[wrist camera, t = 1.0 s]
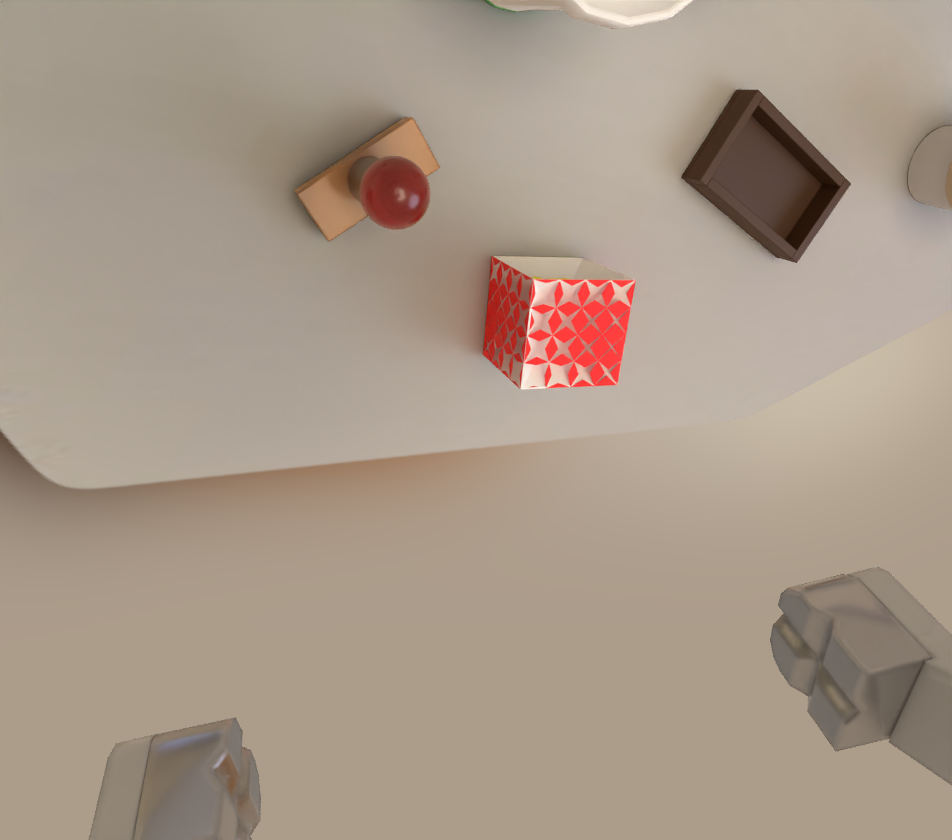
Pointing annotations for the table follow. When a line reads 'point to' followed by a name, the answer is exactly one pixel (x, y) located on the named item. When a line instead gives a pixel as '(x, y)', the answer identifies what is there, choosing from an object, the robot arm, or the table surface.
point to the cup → (602, 10)
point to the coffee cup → (933, 169)
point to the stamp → (374, 183)
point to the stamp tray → (766, 176)
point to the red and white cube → (556, 321)
